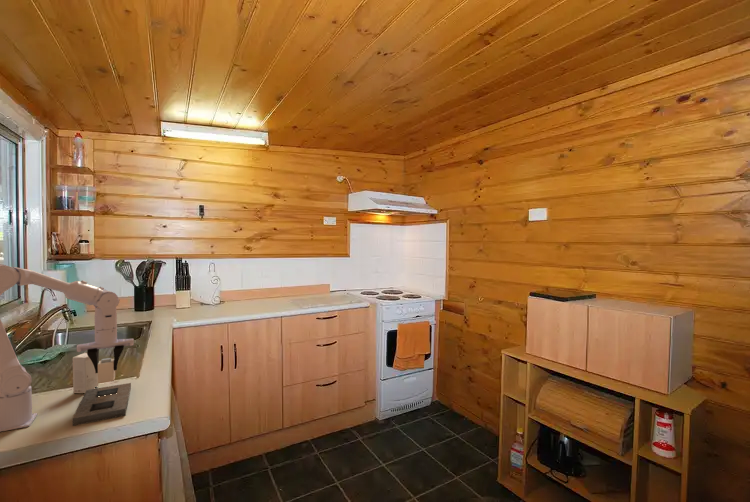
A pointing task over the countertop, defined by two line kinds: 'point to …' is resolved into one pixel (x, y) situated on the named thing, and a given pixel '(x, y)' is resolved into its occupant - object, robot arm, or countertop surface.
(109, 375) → the plug
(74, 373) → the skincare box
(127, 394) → the panel
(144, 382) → the countertop surface
